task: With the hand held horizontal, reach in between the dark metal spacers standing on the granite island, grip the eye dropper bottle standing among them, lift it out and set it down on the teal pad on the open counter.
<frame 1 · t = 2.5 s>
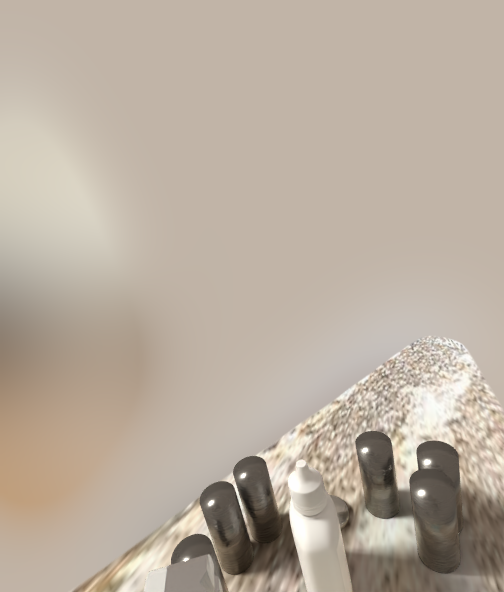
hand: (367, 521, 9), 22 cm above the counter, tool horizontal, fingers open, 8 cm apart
grey flat disc: (329, 517, 35), on the counter
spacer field: (318, 550, 32), on the counter
eye dropper bottle: (329, 588, 29), on the counter
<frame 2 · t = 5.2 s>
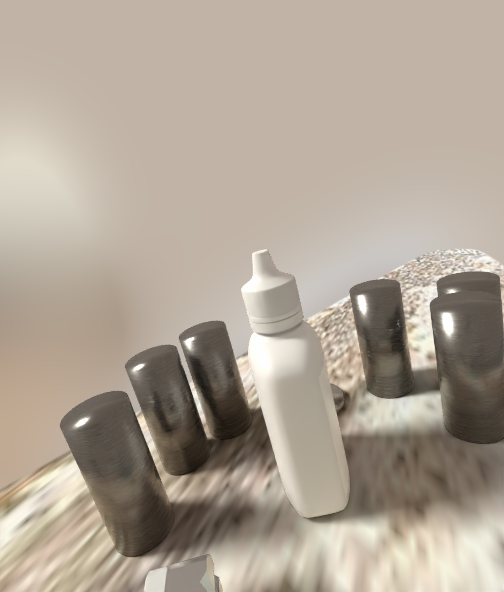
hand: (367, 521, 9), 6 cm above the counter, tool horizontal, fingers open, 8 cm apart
grey flat disc: (318, 407, 25), on the counter
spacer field: (300, 438, 22), on the counter
eye dropper bottle: (315, 477, 19), on the counter
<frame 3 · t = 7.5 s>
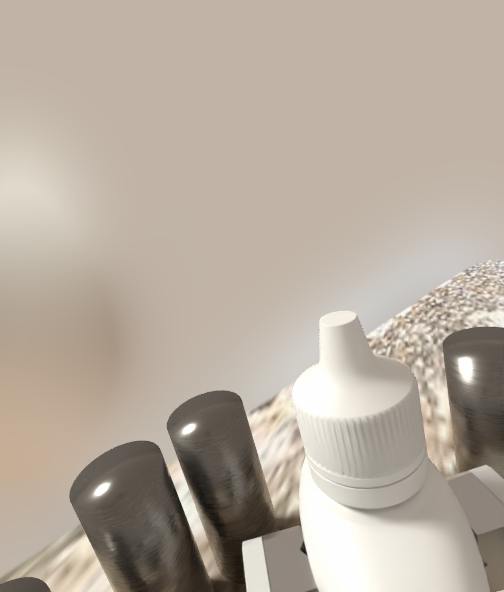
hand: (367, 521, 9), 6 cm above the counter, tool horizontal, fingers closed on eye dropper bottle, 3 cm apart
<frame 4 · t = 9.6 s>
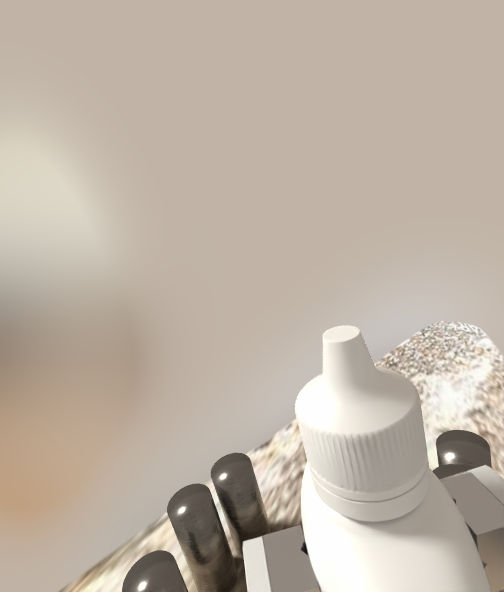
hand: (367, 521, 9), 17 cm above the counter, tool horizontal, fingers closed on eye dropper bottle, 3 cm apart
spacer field: (315, 568, 26), on the counter
when the fingers open (8 cm above the counter, at t = 11.8 s): eye dropper bottle drops 1 cm, resting on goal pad.
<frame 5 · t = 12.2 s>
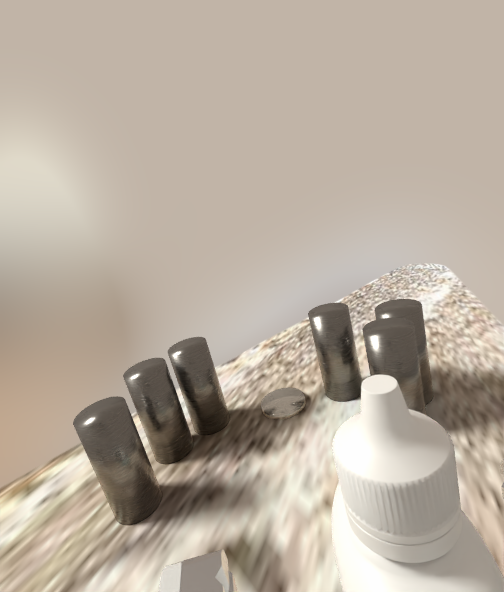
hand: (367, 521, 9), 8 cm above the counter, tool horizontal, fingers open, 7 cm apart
grey flat disc: (284, 408, 30), on the counter
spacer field: (266, 434, 27), on the counter
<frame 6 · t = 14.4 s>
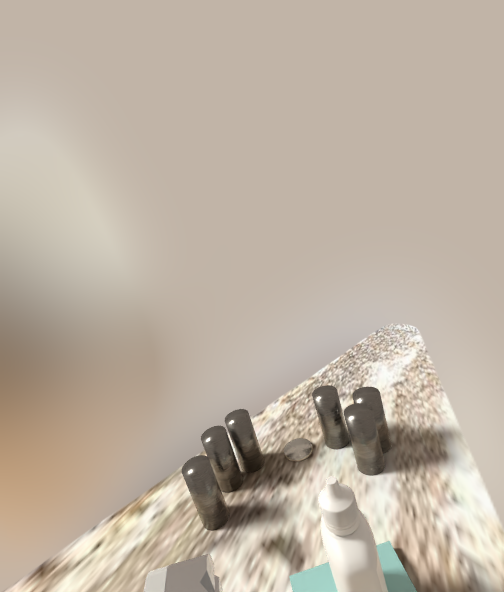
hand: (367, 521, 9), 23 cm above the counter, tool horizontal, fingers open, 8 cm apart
grey flat disc: (299, 453, 47), on the counter
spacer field: (288, 472, 44), on the counter
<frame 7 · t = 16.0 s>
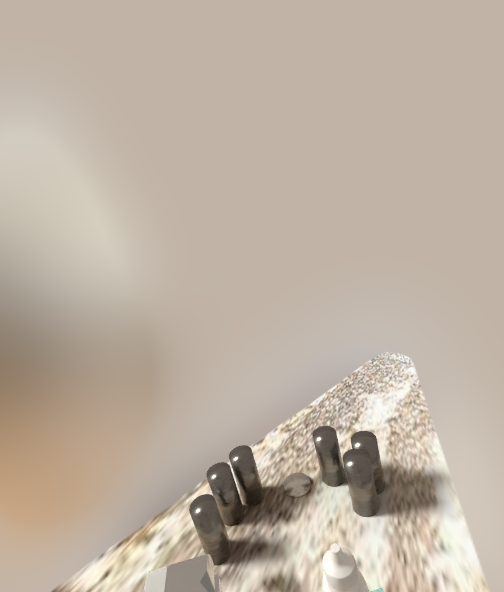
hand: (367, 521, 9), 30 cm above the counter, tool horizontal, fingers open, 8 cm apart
grey flat disc: (297, 487, 50), on the counter
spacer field: (287, 508, 46), on the counter
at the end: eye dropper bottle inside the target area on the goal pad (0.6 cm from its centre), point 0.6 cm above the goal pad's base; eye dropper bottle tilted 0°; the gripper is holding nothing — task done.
